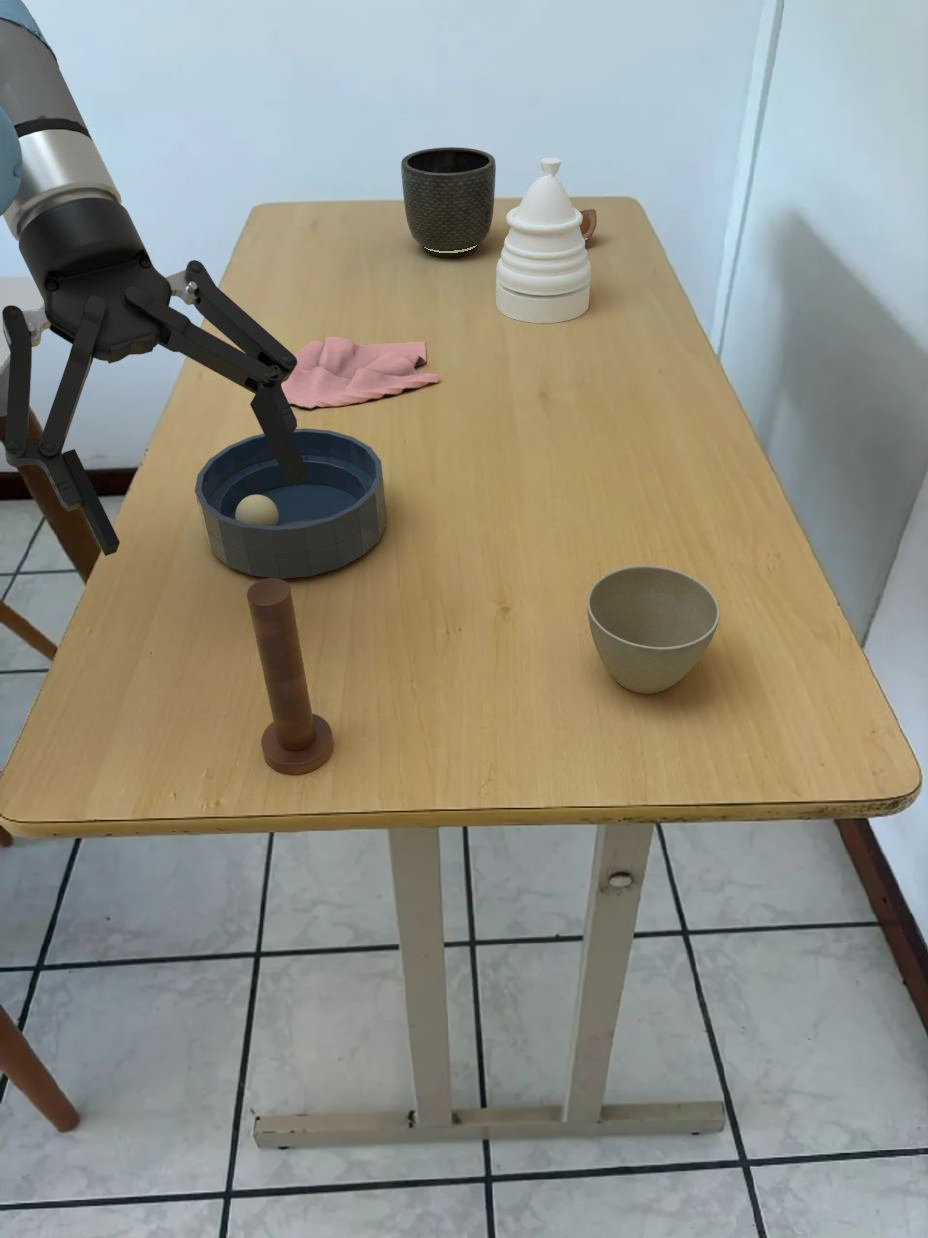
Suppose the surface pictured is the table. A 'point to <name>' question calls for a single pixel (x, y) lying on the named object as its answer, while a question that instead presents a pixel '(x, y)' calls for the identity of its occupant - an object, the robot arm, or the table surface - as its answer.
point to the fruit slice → (588, 223)
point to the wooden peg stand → (286, 683)
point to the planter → (449, 198)
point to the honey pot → (544, 256)
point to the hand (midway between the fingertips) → (210, 513)
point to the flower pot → (651, 625)
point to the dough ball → (257, 511)
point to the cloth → (354, 372)
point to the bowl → (294, 505)
